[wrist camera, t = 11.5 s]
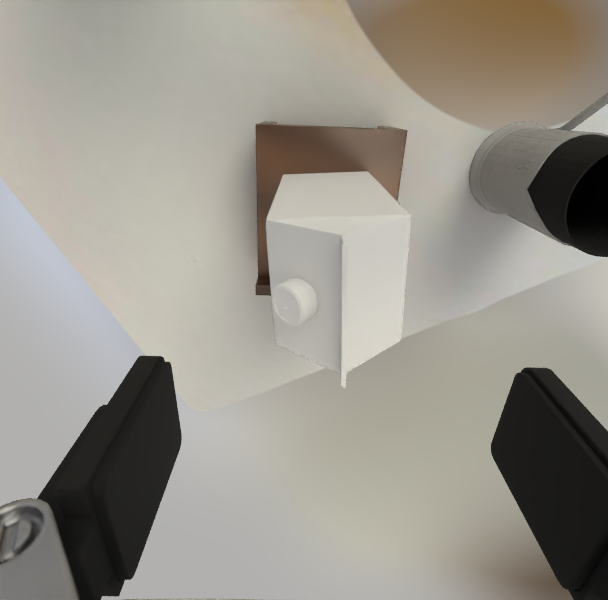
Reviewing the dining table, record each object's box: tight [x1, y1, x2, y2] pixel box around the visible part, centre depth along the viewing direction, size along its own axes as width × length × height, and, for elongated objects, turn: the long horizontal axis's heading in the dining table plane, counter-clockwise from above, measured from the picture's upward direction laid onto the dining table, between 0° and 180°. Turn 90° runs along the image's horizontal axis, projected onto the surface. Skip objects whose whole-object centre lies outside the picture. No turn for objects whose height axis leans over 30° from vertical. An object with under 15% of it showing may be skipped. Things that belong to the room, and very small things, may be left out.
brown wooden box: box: [256, 121, 407, 295], centre depth 36 cm, size 14×12×9 cm
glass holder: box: [469, 93, 608, 257], centre depth 31 cm, size 9×14×15 cm, turn 151°
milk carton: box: [266, 171, 411, 388], centre depth 25 cm, size 7×7×19 cm
